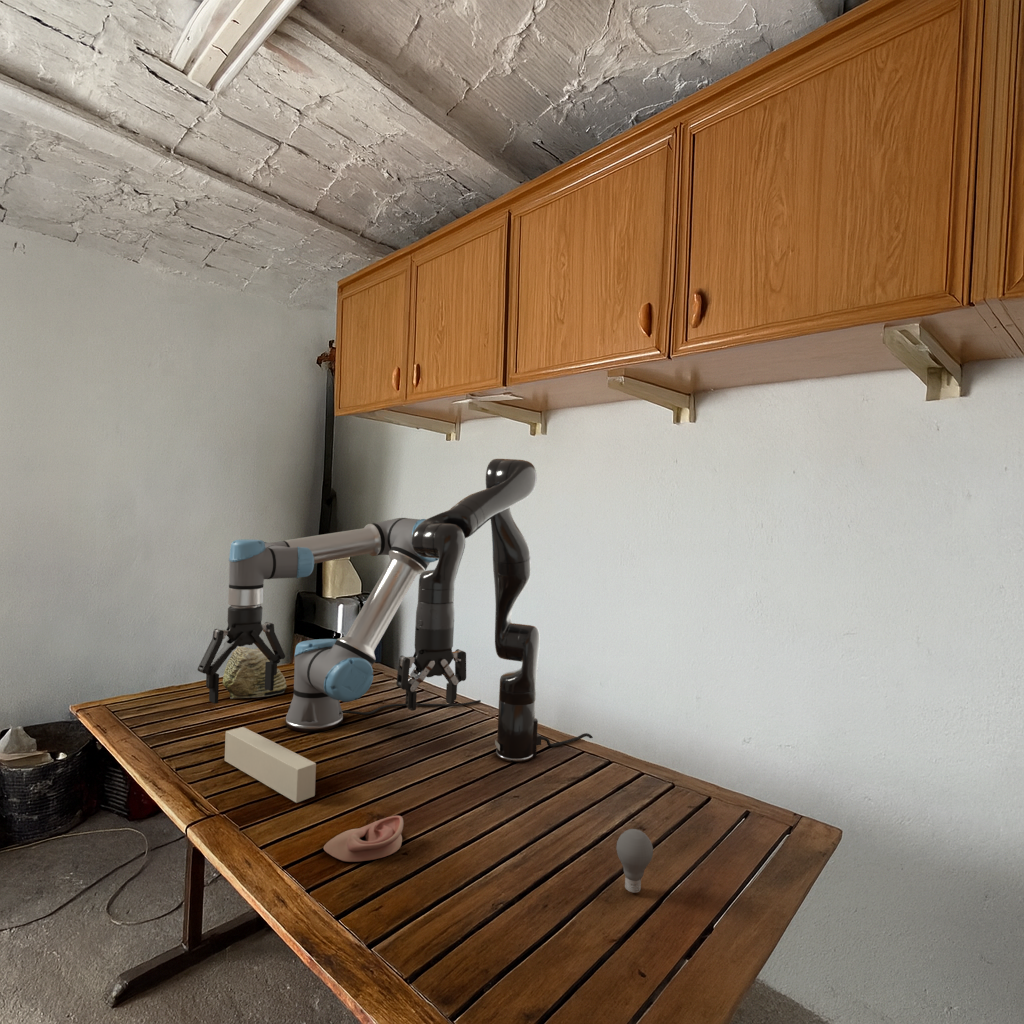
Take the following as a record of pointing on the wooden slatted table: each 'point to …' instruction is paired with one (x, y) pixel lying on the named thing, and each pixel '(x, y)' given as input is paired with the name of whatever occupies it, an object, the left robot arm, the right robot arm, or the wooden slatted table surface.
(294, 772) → the beam
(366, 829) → the anatomical model
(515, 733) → the right robot arm
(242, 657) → the fossil
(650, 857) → the light bulb
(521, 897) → the wooden slatted table surface
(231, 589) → the left robot arm
